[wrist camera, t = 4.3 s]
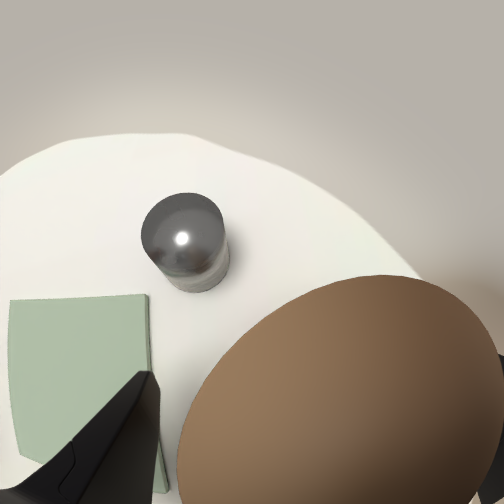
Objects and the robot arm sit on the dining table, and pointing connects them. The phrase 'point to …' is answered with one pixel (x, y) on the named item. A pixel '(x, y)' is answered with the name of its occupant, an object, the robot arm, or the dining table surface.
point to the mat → (72, 366)
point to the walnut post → (349, 402)
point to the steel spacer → (187, 241)
